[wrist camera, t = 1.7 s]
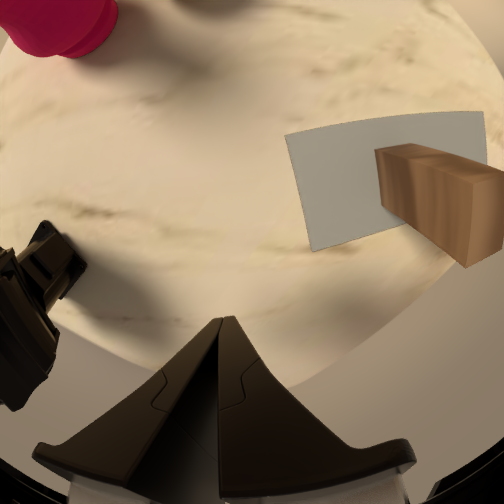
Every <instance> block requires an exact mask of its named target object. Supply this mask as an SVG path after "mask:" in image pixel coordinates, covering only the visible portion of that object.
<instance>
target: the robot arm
mask: <svg viewBox="0 0 504 504" xmlns="http://www.w3.org/2000/svg"><path fill="white" fill-rule="evenodd" d="M44 225H45V227H44ZM81 265H82V266H83V267H81ZM86 269H87V264H86V263H85V261H84V260H83V259H82V258H81V257H80V256H79V255H78V254H77V253H76V252H75V251H74V250H73V249H72V248H71V247H70V246H69V245H68V244H67V243H66V242H65V241H64V239H63V238H62V237H61V236H60V235H59V234H58V233H57V232H56V231H55V229H54V228H53V227H52V226H51V225H50V224H49V223H48V222H47V221H46V220H43V221H42V222H41V223H40V224H39V226H38V228H37V230H36V231H35V233H34V235H33V237H32V239H31V241H30V242H29V244H28V246H27V248H26V249H25V250H23V251H22V252H21V253H20V254H19V255H18V256H17V257H16V256H15V252H14V250H13V247H12V248H10V249H7V250H6V249H5V250H4V249H3V248H2V247H0V405H3V404H5V405H6V406H7V407H8V408H9V409H10V410H11V411H12V412H15V411H17V410H19V409H21V408H23V407H24V405H25V404H26V402H27V400H28V398H29V397H30V395H31V394H32V392H33V391H34V390H35V389H36V388H37V387H38V386H39V384H41V383H42V382H43V381H45V380H46V379H47V378H48V374H49V373H50V371H51V369H52V367H53V364H54V361H55V359H56V349H57V345H58V340H59V336H60V332H59V330H58V329H57V328H55V326H54V325H53V323H52V322H51V320H50V318H49V317H48V315H47V314H48V312H49V311H50V309H51V308H52V307H53V305H54V304H55V302H56V301H57V300H58V299H60V300H62V299H63V297H64V296H65V295H66V294H67V292H68V291H69V290H70V288H71V287H72V286H73V285H74V283H75V282H76V281H77V280H78V278H79V277H80V276H81V275H82V274H83V272H84V271H85V270H86ZM32 458H33V459H34V460H35V461H36V462H38V463H39V464H41V465H43V466H44V467H46V468H47V469H49V470H51V471H52V472H54V473H56V474H58V475H59V476H61V477H63V478H65V479H66V480H68V481H70V487H69V491H68V496H65V495H63V494H61V493H58V492H56V491H54V490H52V489H50V488H48V487H46V486H44V485H42V484H41V483H39V482H37V481H35V480H33V479H32V478H30V477H28V476H27V475H25V474H23V473H22V472H20V471H19V470H17V469H16V468H14V467H13V466H11V465H10V464H8V463H7V462H5V461H4V460H3V459H1V458H0V504H225V502H227V503H230V504H410V502H409V498H408V495H407V491H406V488H405V485H404V481H403V478H402V474H403V473H405V472H406V471H407V470H408V469H410V468H411V467H412V466H413V465H414V464H415V463H416V462H417V459H416V456H415V454H414V451H413V449H412V447H411V445H410V443H409V442H408V440H406V439H403V438H401V439H394V440H390V441H387V442H384V443H380V444H377V445H375V446H372V447H369V448H364V449H357V448H353V447H350V446H349V445H347V444H346V443H345V442H343V441H342V440H341V439H340V438H339V437H338V436H336V435H335V434H334V433H333V432H332V431H331V430H330V429H328V428H327V427H326V426H325V425H324V424H323V423H322V422H321V421H320V420H319V419H317V418H316V417H315V416H314V415H313V414H312V413H311V412H310V411H309V410H308V409H307V408H305V407H304V405H302V404H301V403H300V402H299V401H298V400H297V399H296V398H295V397H294V396H293V395H292V394H291V393H290V392H289V391H288V390H287V389H286V388H285V387H284V386H283V385H282V384H281V383H280V382H279V381H278V380H277V379H276V378H275V377H274V376H273V374H272V373H271V372H270V371H269V369H268V368H267V366H266V365H265V364H264V362H263V360H262V359H261V358H260V356H259V355H258V353H257V351H256V350H255V348H254V347H253V345H252V343H251V342H250V340H249V339H248V337H247V335H246V334H245V332H244V330H243V329H242V327H241V326H240V324H239V322H238V321H237V319H236V317H235V316H227V317H224V318H223V317H221V318H214V319H212V320H211V321H210V322H209V323H208V324H207V325H206V326H205V327H204V328H203V329H202V330H201V331H200V332H199V333H198V334H197V335H196V336H195V337H194V338H193V339H192V340H191V341H189V342H188V343H187V344H186V345H185V346H184V347H183V348H182V349H181V350H180V351H179V352H178V353H177V354H176V355H175V356H174V357H173V358H172V359H171V360H170V361H168V362H167V363H166V364H165V365H164V366H163V367H162V368H161V370H158V371H157V372H156V373H155V374H154V375H153V376H152V377H151V378H150V379H149V380H147V381H146V382H145V383H144V384H143V385H142V386H140V387H139V388H138V389H137V390H135V391H134V392H133V393H132V394H130V395H129V396H127V398H125V399H124V400H122V401H121V402H119V403H118V404H117V405H115V406H114V407H113V408H111V409H110V410H109V411H107V412H106V413H105V414H104V415H102V416H101V417H99V418H98V419H97V420H95V421H94V422H93V423H91V424H90V425H88V426H87V427H85V428H84V429H83V430H81V431H80V432H78V433H77V434H76V435H74V436H73V437H71V438H70V439H69V440H67V441H66V442H64V443H62V444H60V445H56V446H52V445H49V444H46V443H43V442H40V443H38V445H37V446H36V447H35V449H34V451H33V453H32ZM420 504H504V437H503V438H502V439H501V440H500V441H499V442H497V443H496V444H495V445H494V446H492V447H491V448H490V449H488V450H487V451H486V452H484V453H483V454H481V455H480V456H478V457H477V458H475V459H474V460H473V461H471V462H470V463H468V464H466V465H465V466H463V467H462V468H460V469H458V470H457V471H455V472H453V473H452V474H450V475H448V476H446V477H445V478H443V479H441V480H439V481H438V482H436V483H435V485H434V487H433V488H432V490H431V492H430V494H429V496H428V498H427V500H426V501H424V502H422V503H420Z"/></svg>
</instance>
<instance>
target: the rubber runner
mask: <svg viewBox="0 0 504 504" xmlns="http://www.w3.org/2000/svg"><path fill="white" fill-rule="evenodd" d="M285 139H286V143H287V146H288V150H289V154H290V158H291V162H292V166H293V170H294V174H295V178H296V182H297V187H298V191H299V195H300V200H301V204H302V208H303V213H304V218H305V222H306V227H307V232H308V237H309V241H310V246H311V251H312V252H314V251H317V250H321V249H324V248H327V247H331V246H334V245H337V244H341V243H344V242H347V241H351V240H354V239H357V238H360V237H364V236H367V235H370V234H373V233H377V232H380V231H383V230H386V229H389V228H393V227H396V226H399V225H402V224H405V223H406V222H405V221H403V220H402V219H401V218H399V217H398V216H396V215H395V214H393V213H392V212H390V211H389V210H387V209H386V208H384V207H383V206H381V198H380V188H379V180H378V172H377V165H376V158H375V152H374V149H379V148H384V147H390V146H395V145H401V144H407V143H414V144H418V145H422V146H426V147H430V148H434V149H437V150H441V151H445V152H448V153H451V154H455V155H458V156H461V157H464V158H468V159H471V160H474V161H476V162H479V163H482V164H485V165H487V145H486V132H485V122H484V114H483V112H482V111H457V112H433V113H419V114H407V115H398V116H389V117H381V118H373V119H366V120H360V121H353V122H347V123H341V124H336V125H331V126H325V127H320V128H315V129H311V130H306V131H301V132H297V133H293V134H288V135H285Z"/></svg>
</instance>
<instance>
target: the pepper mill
mask: <svg viewBox="0 0 504 504" xmlns="http://www.w3.org/2000/svg"><path fill="white" fill-rule="evenodd" d="M117 16H118V7H117V4H116V3H115V1H114V0H0V26H1V27H2V28H3V29H4V30H5V31H6V32H7V33H8V35H9V36H10V38H11V39H12V41H13V42H14V43H15V45H16V46H17V47H19V48H20V49H21V50H22V51H23V52H25V53H27V54H30V55H33V56H36V57H50V56H54V55H59V56H63V57H67V58H77V57H80V56H83V55H86V54H88V53H89V52H91V51H93V50H94V49H95V48H97V47H98V46H99V45H100V44H101V43H102V42H103V41H104V40H105V39H106V38H107V37H108V35H109V34H110V33H111V31H112V29H113V28H114V26H115V23H116V21H117Z"/></svg>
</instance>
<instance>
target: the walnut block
mask: <svg viewBox="0 0 504 504" xmlns="http://www.w3.org/2000/svg"><path fill="white" fill-rule="evenodd" d="M374 152H375V158H376V165H377V172H378V180H379V188H380V198H381V206H383V207H384V208H386V209H387V210H389V211H390V212H392V213H393V214H395V215H396V216H398V217H399V218H401V219H402V220H403V221H405V222H406V223H408V224H409V225H410V226H412V227H413V228H415V229H416V230H417V231H419V232H420V233H421V234H423V235H424V236H425V237H427V238H428V239H429V240H431V241H432V242H433V243H435V244H436V245H437V246H438V247H440V248H441V249H442V250H443V251H445V252H446V253H447V254H448V255H450V256H451V257H452V258H453V259H455V260H456V261H457V262H458V263H459V264H461V265H462V266H463V267H464V268H467V267H469V266H471V265H473V264H475V263H477V262H479V261H481V260H483V259H485V258H487V257H488V256H490V255H492V254H494V253H496V252H498V251H499V250H501V249H502V244H503V238H504V172H503V171H501V170H498V169H496V168H493V167H490V166H488V165H485V164H482V163H479V162H476V161H474V160H471V159H468V158H464V157H461V156H458V155H455V154H451V153H448V152H445V151H441V150H437V149H434V148H430V147H426V146H422V145H418V144H414V143H407V144H401V145H395V146H390V147H384V148H379V149H374Z"/></svg>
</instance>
